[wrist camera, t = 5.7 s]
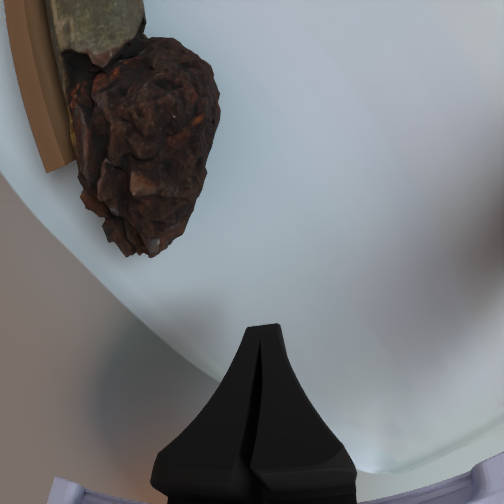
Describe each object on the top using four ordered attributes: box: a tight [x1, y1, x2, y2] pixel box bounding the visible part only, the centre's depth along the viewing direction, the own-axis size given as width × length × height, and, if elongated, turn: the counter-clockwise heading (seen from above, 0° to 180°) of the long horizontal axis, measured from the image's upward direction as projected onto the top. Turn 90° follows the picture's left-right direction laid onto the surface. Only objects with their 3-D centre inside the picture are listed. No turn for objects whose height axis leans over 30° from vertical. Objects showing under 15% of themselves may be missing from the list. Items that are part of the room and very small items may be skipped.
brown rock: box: [45, 0, 221, 258], centre depth 10 cm, size 18×7×6 cm, turn 11°
